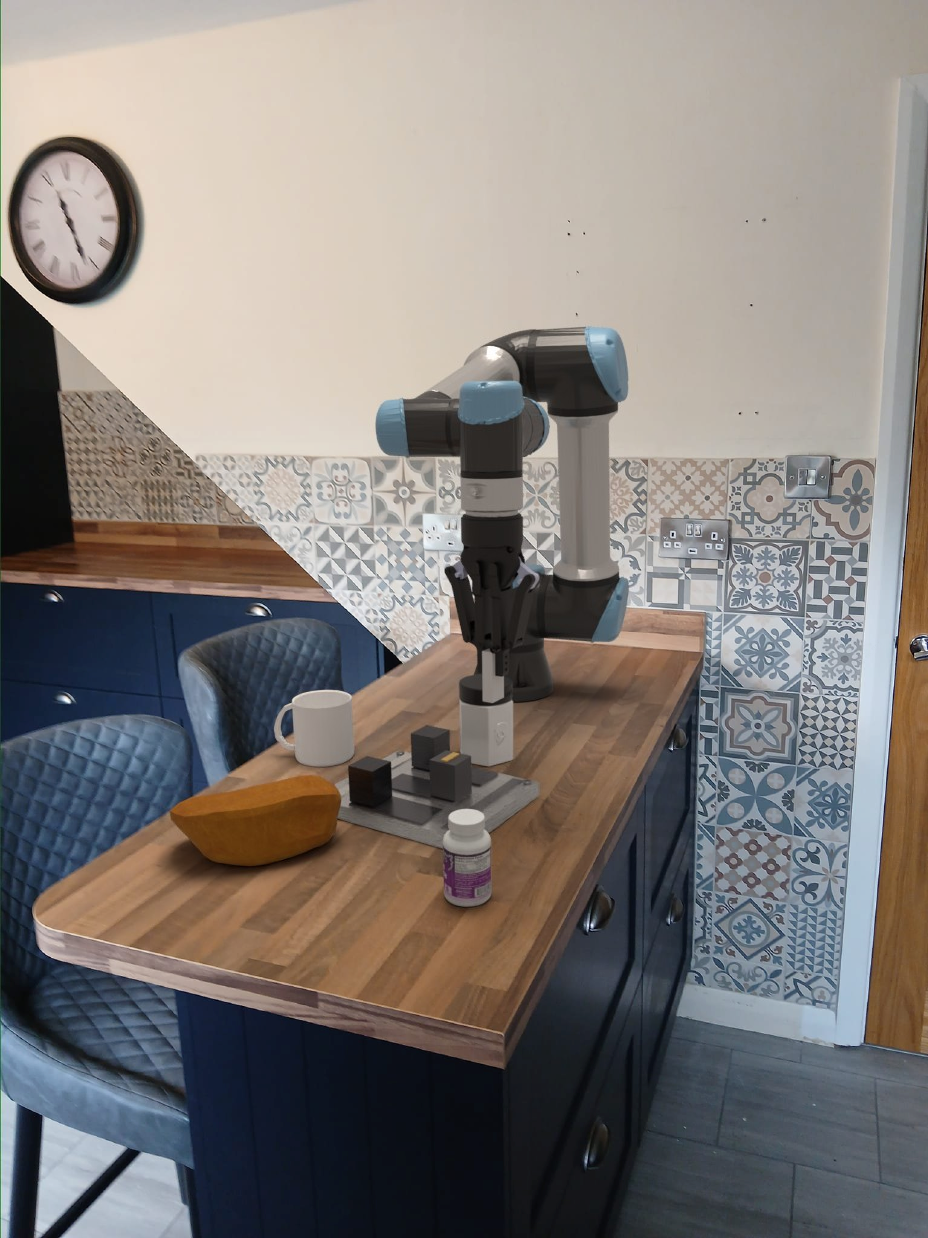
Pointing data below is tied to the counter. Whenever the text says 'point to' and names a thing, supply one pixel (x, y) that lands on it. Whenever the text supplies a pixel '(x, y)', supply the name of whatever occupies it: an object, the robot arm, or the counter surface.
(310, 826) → the bread
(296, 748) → the mug
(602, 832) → the counter surface
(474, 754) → the jar
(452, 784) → the handle
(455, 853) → the pill bottle
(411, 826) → the panel
